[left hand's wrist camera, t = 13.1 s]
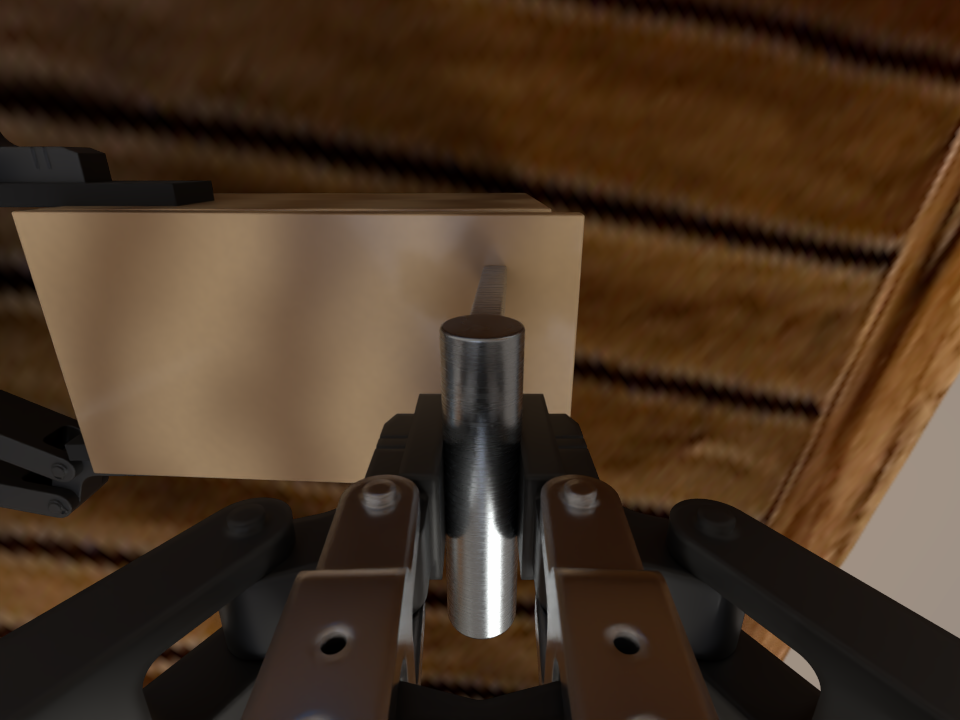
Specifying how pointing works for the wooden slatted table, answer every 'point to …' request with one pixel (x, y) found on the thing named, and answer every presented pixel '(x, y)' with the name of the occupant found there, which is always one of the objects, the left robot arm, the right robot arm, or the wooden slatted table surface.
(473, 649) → the wooden slatted table surface
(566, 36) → the wooden slatted table surface
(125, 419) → the lid
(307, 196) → the chest
